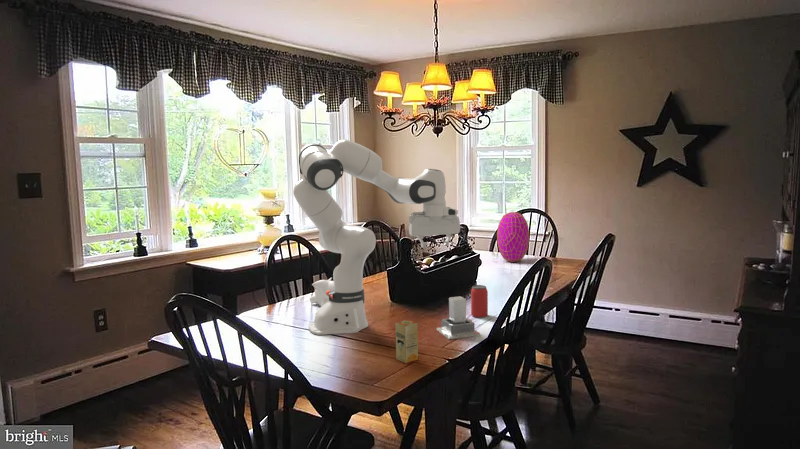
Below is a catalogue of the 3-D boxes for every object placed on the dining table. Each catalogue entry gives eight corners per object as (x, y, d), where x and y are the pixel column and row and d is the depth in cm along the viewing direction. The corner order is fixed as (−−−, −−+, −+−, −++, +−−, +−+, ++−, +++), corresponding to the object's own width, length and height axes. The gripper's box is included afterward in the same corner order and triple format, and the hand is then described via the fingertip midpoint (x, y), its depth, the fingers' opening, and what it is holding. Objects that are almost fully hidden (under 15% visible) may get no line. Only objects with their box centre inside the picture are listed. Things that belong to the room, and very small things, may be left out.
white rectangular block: (454, 333, 202) (454, 300, 201) (449, 329, 207) (448, 297, 206) (466, 331, 204) (465, 299, 203) (460, 327, 208) (460, 296, 207)
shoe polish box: (408, 355, 183) (407, 319, 182) (418, 359, 179) (417, 322, 178) (396, 358, 180) (395, 322, 179) (405, 363, 176) (405, 325, 175)
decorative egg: (527, 258, 350) (527, 210, 347) (530, 264, 331) (531, 213, 328) (496, 258, 353) (496, 210, 349) (497, 264, 334) (497, 214, 330)
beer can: (475, 318, 223) (474, 289, 221) (468, 314, 229) (468, 285, 228) (490, 317, 224) (490, 287, 223) (483, 313, 231) (483, 284, 229)
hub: (449, 339, 198) (449, 327, 197) (436, 329, 209) (436, 318, 209) (480, 335, 202) (480, 323, 201) (466, 326, 213) (465, 315, 212)
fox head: (318, 282, 261) (293, 289, 242) (347, 272, 254) (324, 277, 236) (327, 310, 259) (303, 319, 241) (357, 300, 253) (334, 308, 234)
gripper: (411, 213, 212) (412, 249, 214) (461, 210, 218) (462, 245, 220) (406, 211, 218) (407, 247, 220) (455, 209, 224) (455, 243, 226)
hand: (435, 246), depth 220 cm, fingers open, 8 cm apart
